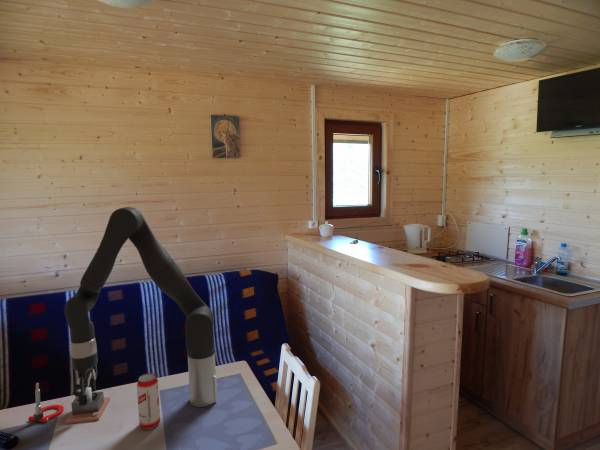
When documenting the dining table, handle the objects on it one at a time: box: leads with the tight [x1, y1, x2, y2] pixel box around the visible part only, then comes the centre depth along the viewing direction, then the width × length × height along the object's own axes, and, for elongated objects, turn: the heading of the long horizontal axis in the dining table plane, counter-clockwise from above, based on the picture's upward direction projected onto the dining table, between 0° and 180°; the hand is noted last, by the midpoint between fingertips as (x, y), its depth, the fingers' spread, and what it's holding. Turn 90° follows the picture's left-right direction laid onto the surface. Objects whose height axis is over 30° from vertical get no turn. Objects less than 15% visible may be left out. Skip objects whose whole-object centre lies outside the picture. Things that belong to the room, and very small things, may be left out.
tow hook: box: [28, 382, 65, 423], centre depth 130 cm, size 8×13×9 cm
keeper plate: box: [65, 387, 111, 425], centre depth 131 cm, size 10×12×8 cm
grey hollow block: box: [71, 391, 105, 415], centre depth 131 cm, size 8×6×4 cm
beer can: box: [136, 373, 161, 430], centre depth 123 cm, size 6×6×16 cm
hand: (87, 398), depth 131 cm, fingers open, 8 cm apart
